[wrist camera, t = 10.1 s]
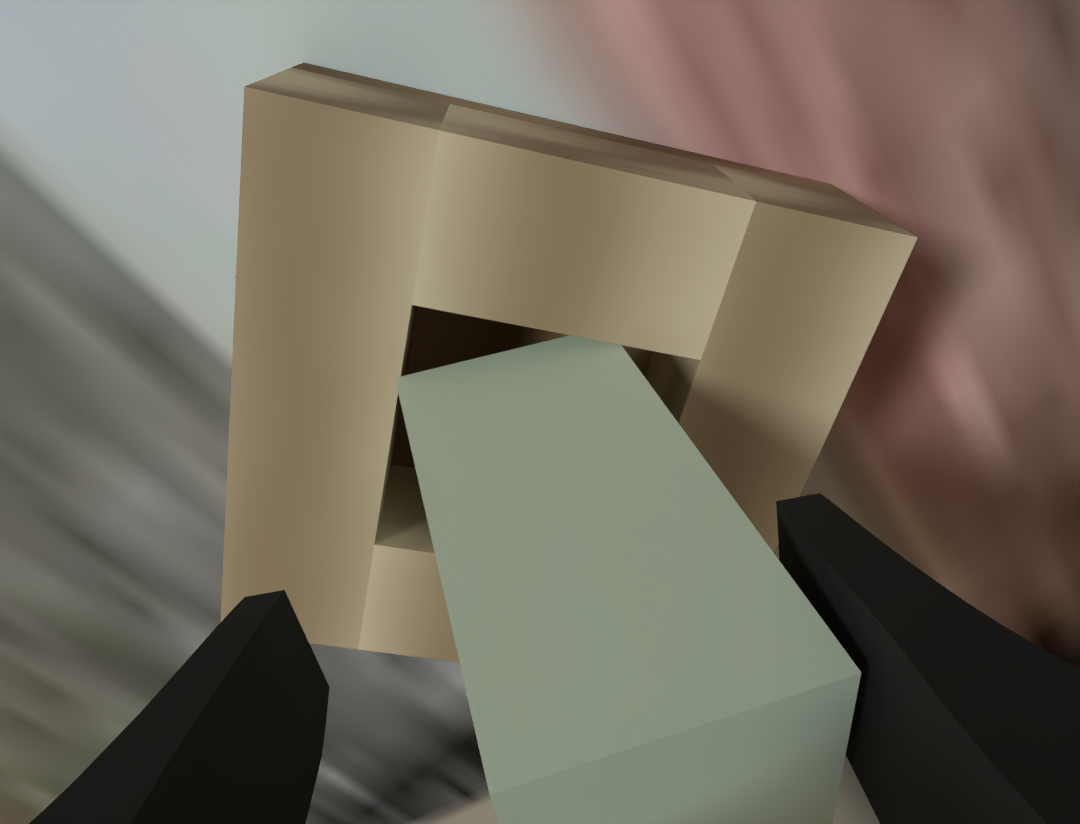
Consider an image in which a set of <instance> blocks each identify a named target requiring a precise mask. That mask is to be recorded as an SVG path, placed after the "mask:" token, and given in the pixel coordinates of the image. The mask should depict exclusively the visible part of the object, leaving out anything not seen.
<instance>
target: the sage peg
mask: <svg viewBox="0 0 1080 824" xmlns="http://www.w3.org/2000/svg"><path fill="white" fill-rule="evenodd" d="M395 381H396V385H397V390H398V394H399V398H400V403H401V407H402V411H403V416H404V420H405V425H406V429H407V433H408V438H409V442H410V447H411V451H412V455H413V460H414V464H415V469H416V473H417V477H418V482H419V486H420V491H421V495H422V499H423V504H424V508H425V513H426V517H427V521H428V526H429V530H430V534H431V539H432V543H433V548H434V552H435V556H436V561H437V565H438V570H439V574H440V578H441V583H442V587H443V592H444V596H445V600H446V605H447V609H448V614H449V618H450V622H451V627H452V631H453V636H454V640H455V644H456V649H457V653H458V657H459V662H460V666H461V671H462V675H463V679H464V684H465V688H466V693H467V697H468V701H469V706H470V710H471V715H472V719H473V723H474V728H475V732H476V737H477V741H478V745H479V750H480V754H481V759H482V763H483V767H484V772H485V776H486V780H487V785H488V789H489V794H490V797H491V801H492V804H493V808H494V811H495V814H496V818H497V821H498V824H832V821H833V816H834V811H835V806H836V801H837V795H838V790H839V785H840V780H841V775H842V770H843V765H844V760H845V754H846V749H847V744H848V739H849V734H850V729H851V724H852V718H853V713H854V708H855V703H856V698H857V693H858V687H859V682H860V677H861V671H860V670H859V669H858V667H857V666H856V665H855V663H854V662H853V660H852V659H851V658H850V656H849V655H848V654H847V652H846V651H845V650H844V648H843V647H842V645H841V644H840V643H839V641H838V640H837V639H836V637H835V636H834V635H833V633H832V632H831V630H830V629H829V628H828V626H827V625H826V624H825V622H824V621H823V620H822V618H821V617H820V615H819V614H818V613H817V611H816V610H815V609H814V607H813V606H812V605H811V603H810V602H809V600H808V599H807V598H806V596H805V595H804V594H803V592H802V591H801V590H800V588H799V587H798V585H797V584H796V583H795V581H794V580H793V579H792V577H791V576H790V575H789V573H788V572H787V570H786V569H785V568H784V566H783V565H782V564H781V562H780V561H779V560H778V558H777V557H776V555H775V554H774V553H773V551H772V550H771V549H770V547H769V546H768V545H767V543H766V542H765V540H764V539H763V538H762V536H761V535H760V534H759V532H758V531H757V530H756V528H755V527H754V526H753V524H752V523H751V521H750V520H749V519H748V517H747V516H746V515H745V513H744V512H743V511H742V509H741V508H740V506H739V505H738V504H737V502H736V501H735V500H734V498H733V497H732V496H731V494H730V493H729V491H728V490H727V489H726V487H725V486H724V485H723V483H722V482H721V481H720V479H719V478H718V476H717V475H716V474H715V472H714V471H713V470H712V468H711V467H710V466H709V464H708V463H707V461H706V460H705V459H704V457H703V456H702V455H701V453H700V452H699V451H698V449H697V448H696V446H695V445H694V444H693V442H692V441H691V440H690V438H689V437H688V436H687V434H686V433H685V431H684V430H683V429H682V427H681V426H680V425H679V423H678V422H677V421H676V419H675V418H674V416H673V415H672V414H671V412H670V411H669V410H668V408H667V407H666V406H665V404H664V403H663V401H662V400H661V399H660V397H659V396H658V395H657V393H656V392H655V391H654V389H653V388H652V386H651V385H650V384H649V382H648V381H647V380H646V378H645V377H644V376H643V374H642V373H641V371H640V370H639V369H638V367H637V366H636V365H635V363H634V362H633V361H632V359H631V358H630V356H629V355H628V354H627V352H626V351H625V350H624V348H623V347H622V346H621V345H619V344H613V343H608V342H603V341H598V340H592V339H587V338H582V337H577V336H572V335H570V336H565V337H561V338H557V339H553V340H549V341H545V342H541V343H537V344H533V345H528V346H524V347H520V348H516V349H512V350H508V351H504V352H500V353H495V354H491V355H487V356H483V357H479V358H475V359H471V360H467V361H462V362H458V363H454V364H450V365H446V366H442V367H438V368H434V369H429V370H425V371H421V372H417V373H413V374H409V375H405V376H401V377H397V378H395Z"/></svg>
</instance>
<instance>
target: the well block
mask: <svg viewBox="0 0 1080 824" xmlns="http://www.w3.org/2000/svg"><path fill="white" fill-rule="evenodd" d="M917 238H918V237H916V236H914V235H913V234H911V233H910V232H908V231H906V230H905V229H903V228H901V227H900V226H898V225H896V224H895V223H893V222H892V221H890V220H888V219H887V218H885V217H883V216H882V215H880V214H878V213H877V212H875V211H874V210H872V209H870V208H869V207H867V206H865V205H864V204H862V203H860V202H859V201H857V200H856V199H854V198H852V197H851V196H849V195H847V194H846V193H844V192H842V191H841V190H839V189H837V188H836V187H834V186H833V185H831V184H827V183H823V182H819V181H814V180H810V179H806V178H801V177H797V176H793V175H788V174H784V173H780V172H775V171H771V170H767V169H762V168H758V167H754V166H749V165H745V164H741V163H736V162H732V161H728V160H723V159H719V158H715V157H710V156H706V155H702V154H697V153H693V152H689V151H684V150H680V149H676V148H671V147H667V146H663V145H658V144H654V143H650V142H645V141H641V140H637V139H632V138H628V137H624V136H619V135H615V134H611V133H606V132H602V131H598V130H593V129H589V128H585V127H580V126H576V125H572V124H567V123H563V122H559V121H554V120H550V119H546V118H541V117H537V116H533V115H528V114H524V113H520V112H515V111H511V110H507V109H502V108H498V107H494V106H489V105H485V104H481V103H476V102H472V101H468V100H463V99H459V98H455V97H450V96H446V95H442V94H437V93H433V92H429V91H424V90H420V89H416V88H411V87H407V86H403V85H398V84H394V83H390V82H385V81H381V80H377V79H372V78H368V77H364V76H359V75H355V74H350V73H346V72H342V71H337V70H333V69H329V68H324V67H320V66H316V65H311V64H307V63H302V64H299V65H297V66H294V67H292V68H289V69H287V70H285V71H282V72H280V73H277V74H275V75H272V76H270V77H267V78H265V79H262V80H260V81H257V82H255V83H252V84H250V85H247V86H245V88H244V110H243V133H242V155H241V178H240V200H239V222H238V245H237V267H236V290H235V312H234V335H233V357H232V380H231V402H230V425H229V447H228V469H227V492H226V514H225V537H224V559H223V582H222V604H221V622H222V620H223V619H224V618H225V617H226V616H227V615H228V614H229V613H230V612H231V611H232V610H233V608H234V607H235V606H236V605H237V604H238V603H239V602H240V601H241V600H242V599H243V598H244V597H247V596H253V595H259V594H264V593H270V592H275V591H281V590H285V592H286V594H287V596H288V598H289V601H290V603H291V605H292V607H293V609H294V612H295V614H296V616H297V618H298V620H299V622H300V625H301V627H302V629H303V631H304V633H305V635H306V638H307V640H308V642H309V643H313V644H321V645H329V646H336V647H344V648H352V649H360V650H368V651H375V652H383V653H391V654H399V655H407V656H414V657H422V658H430V659H438V660H446V661H454V662H459V657H458V653H457V649H456V644H455V640H454V636H453V631H452V627H451V622H450V618H449V614H448V609H447V605H446V600H445V596H444V592H443V587H442V583H441V578H440V574H439V570H438V565H437V561H436V556H435V552H434V548H433V543H432V539H431V534H430V530H429V526H428V521H427V517H426V513H425V508H424V504H423V499H422V495H421V491H420V486H419V482H418V477H417V473H416V469H415V464H414V460H413V455H412V451H411V447H410V442H409V438H408V433H407V429H406V425H405V420H404V416H403V411H402V407H401V403H400V398H399V394H398V390H397V385H396V381H395V378H397V377H401V376H405V375H409V374H413V373H417V372H421V371H425V370H429V369H434V368H438V367H442V366H446V365H450V364H454V363H458V362H462V361H467V360H471V359H475V358H479V357H483V356H487V355H491V354H495V353H500V352H504V351H508V350H512V349H516V348H520V347H524V346H528V345H533V344H537V343H541V342H545V341H549V340H553V339H557V338H561V337H565V336H570V335H572V336H577V337H582V338H587V339H592V340H598V341H603V342H608V343H613V344H619V345H621V346H622V347H623V348H624V350H625V351H626V352H627V354H628V355H629V356H630V358H631V359H632V361H633V362H634V363H635V365H636V366H637V367H638V369H639V370H640V371H641V373H642V374H643V376H644V377H645V378H646V380H647V381H648V382H649V384H650V385H651V386H652V388H653V389H654V391H655V392H656V393H657V395H658V396H659V397H660V399H661V400H662V401H663V403H664V404H665V406H666V407H667V408H668V410H669V411H670V412H671V414H672V415H673V416H674V418H675V419H676V421H677V422H678V423H679V425H680V426H681V427H682V429H683V430H684V431H685V433H686V434H687V436H688V437H689V438H690V440H691V441H692V442H693V444H694V445H695V446H696V448H697V449H698V451H699V452H700V453H701V455H702V456H703V457H704V459H705V460H706V461H707V463H708V464H709V466H710V467H711V468H712V470H713V471H714V472H715V474H716V475H717V476H718V478H719V479H720V481H721V482H722V483H723V485H724V486H725V487H726V489H727V490H728V491H729V493H730V494H731V496H732V497H733V498H734V500H735V501H736V502H737V504H738V505H739V506H740V508H741V509H742V511H743V512H744V513H745V515H746V516H747V517H748V519H749V520H750V521H751V523H752V524H753V526H754V527H755V528H756V530H757V531H758V532H759V534H760V535H761V536H762V538H763V539H764V540H765V542H766V543H767V545H768V546H769V547H770V549H771V550H772V551H773V553H775V550H776V548H777V546H778V544H779V542H778V525H777V507H776V501H780V500H785V499H791V498H796V497H800V495H801V493H802V491H803V489H804V487H805V484H806V482H807V480H808V478H809V476H810V473H811V471H812V469H813V467H814V465H815V462H816V460H817V458H818V456H819V454H820V451H821V449H822V447H823V445H824V443H825V440H826V438H827V436H828V434H829V432H830V429H831V427H832V425H833V423H834V421H835V418H836V416H837V414H838V412H839V410H840V407H841V405H842V403H843V401H844V399H845V396H846V394H847V392H848V390H849V388H850V385H851V383H852V381H853V379H854V377H855V375H856V372H857V370H858V368H859V366H860V364H861V361H862V359H863V357H864V355H865V353H866V350H867V348H868V346H869V344H870V342H871V339H872V337H873V335H874V333H875V331H876V328H877V326H878V324H879V322H880V320H881V317H882V315H883V313H884V311H885V309H886V306H887V304H888V302H889V300H890V298H891V295H892V293H893V291H894V289H895V287H896V284H897V282H898V280H899V278H900V276H901V273H902V271H903V269H904V267H905V265H906V262H907V260H908V258H909V256H910V254H911V251H912V249H913V247H914V245H915V243H916V240H917Z"/></svg>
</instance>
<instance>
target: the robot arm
mask: <svg viewBox="0 0 1080 824" xmlns="http://www.w3.org/2000/svg"><path fill="white" fill-rule="evenodd" d="M776 507H777V525H778V542H779V559H780V562H781V564H782V565H783V566H784V568H785V569H786V570H787V572H788V573H789V575H790V576H791V577H792V579H793V580H794V581H795V583H796V584H797V585H798V587H799V588H800V590H801V591H802V592H803V594H804V595H805V596H806V598H807V599H808V600H809V602H810V603H811V605H812V606H813V607H814V609H815V610H816V611H817V613H818V614H819V615H820V617H821V618H822V620H823V621H824V622H825V624H826V625H827V626H828V628H829V629H830V630H831V632H832V633H833V635H834V636H835V637H836V639H837V640H838V641H839V643H840V644H841V645H842V647H843V648H844V650H845V651H846V652H847V654H848V655H849V656H850V658H851V659H852V660H853V662H854V663H855V665H856V666H857V667H858V669H859V670H860V671H861V677H860V682H859V687H858V693H857V698H856V703H855V708H854V713H853V718H852V724H851V729H850V734H849V739H848V744H847V749H846V756H847V758H848V760H849V762H850V764H851V766H852V768H853V770H854V772H855V774H856V776H857V778H858V780H859V782H860V784H861V786H862V788H863V790H864V792H865V794H866V796H867V798H868V800H869V802H870V804H871V806H872V808H873V810H874V812H875V814H876V816H877V818H878V820H879V822H880V824H1080V669H1078V668H1077V667H1075V666H1073V665H1071V664H1069V663H1067V662H1066V661H1064V660H1062V659H1060V658H1058V657H1056V656H1055V655H1053V654H1051V653H1049V652H1047V651H1046V650H1044V649H1042V648H1040V647H1038V646H1036V645H1035V644H1033V643H1031V642H1029V641H1028V640H1026V639H1024V638H1023V637H1021V636H1019V635H1018V634H1016V633H1014V632H1012V631H1011V630H1009V629H1007V628H1006V627H1004V626H1003V625H1001V624H999V623H998V622H996V621H995V620H993V619H992V618H990V617H989V616H987V615H985V614H984V613H982V612H981V611H979V610H978V609H976V608H974V607H973V606H971V605H970V604H968V603H967V602H965V601H964V600H962V599H961V598H959V597H958V596H956V595H955V594H953V593H952V592H951V591H949V590H948V589H946V588H945V587H943V586H942V585H941V584H939V583H938V582H936V581H935V580H934V579H932V578H931V577H929V576H928V575H927V574H925V573H924V572H922V571H921V570H919V569H918V568H917V567H915V566H914V565H912V564H911V563H910V562H908V561H907V560H906V559H904V558H903V557H902V556H900V555H899V554H898V553H896V552H895V551H894V550H892V549H891V548H890V547H888V546H887V545H886V544H884V543H883V542H882V541H880V540H879V539H878V538H877V537H875V536H874V535H873V534H871V533H870V532H869V531H867V530H866V529H865V528H864V527H862V526H861V525H860V524H859V523H857V522H856V521H855V520H854V519H852V518H851V517H850V516H848V515H847V514H846V513H845V512H843V511H842V510H841V509H840V508H838V507H837V506H836V505H835V504H833V503H832V502H831V501H829V500H828V499H827V498H825V497H824V496H823V495H821V494H820V493H819V494H813V495H807V496H802V497H796V498H791V499H785V500H780V501H776ZM328 695H329V685H328V683H327V681H326V679H325V677H324V674H323V672H322V670H321V668H320V666H319V664H318V661H317V659H316V657H315V655H314V653H313V651H312V648H311V646H310V644H309V642H308V640H307V638H306V635H305V633H304V631H303V629H302V627H301V625H300V622H299V620H298V618H297V616H296V614H295V612H294V609H293V607H292V605H291V603H290V601H289V598H288V596H287V594H286V592H285V590H281V591H275V592H270V593H264V594H259V595H253V596H247V597H244V598H243V599H242V600H241V601H240V602H239V603H238V604H237V605H236V606H235V607H234V608H233V610H232V611H231V612H230V613H229V614H228V615H227V616H226V617H225V618H224V619H223V620H222V622H221V623H220V624H219V625H218V626H217V627H216V628H215V629H214V631H213V632H212V633H211V634H210V635H209V636H208V637H207V638H206V640H205V641H204V642H203V643H202V644H201V645H200V646H199V648H198V649H197V650H196V651H195V652H194V653H193V654H192V656H191V657H190V658H189V659H188V660H187V661H186V662H185V663H184V665H183V666H182V667H181V668H180V669H179V670H178V671H177V672H176V674H175V675H174V676H173V677H172V678H171V679H170V680H169V681H168V682H167V684H166V685H165V686H164V687H163V688H162V689H161V690H160V691H159V693H158V694H157V695H156V696H155V697H154V698H153V699H152V700H151V701H150V703H149V704H148V705H147V706H146V707H145V708H144V709H143V710H142V711H141V713H140V714H139V715H138V716H137V717H136V718H135V719H134V720H133V721H132V722H131V723H130V724H129V725H128V726H127V727H126V728H125V729H124V730H123V731H122V732H121V733H120V734H119V735H118V737H117V738H116V739H115V740H114V741H113V742H112V743H111V744H110V745H109V746H108V747H107V748H106V749H105V750H104V751H103V752H102V753H101V754H100V755H99V756H98V757H97V758H96V759H95V760H94V761H93V763H92V764H91V765H90V766H89V767H88V768H87V769H86V770H85V771H84V772H83V773H82V774H81V775H80V776H79V777H78V778H77V779H76V780H75V781H74V782H73V783H72V784H71V785H70V786H69V787H68V788H67V789H66V790H65V791H64V792H63V793H62V794H60V795H59V796H58V797H57V798H56V799H55V800H54V801H53V802H52V803H51V804H50V805H49V806H48V807H47V808H46V809H45V810H44V811H42V812H41V813H40V814H39V815H38V816H37V817H36V818H35V819H34V820H33V821H31V822H30V823H29V824H305V823H306V819H307V815H308V811H309V807H310V803H311V799H312V794H313V790H314V786H315V782H316V778H317V774H318V769H319V765H320V760H321V756H322V749H323V742H324V734H325V726H326V716H327V706H328Z"/></svg>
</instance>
